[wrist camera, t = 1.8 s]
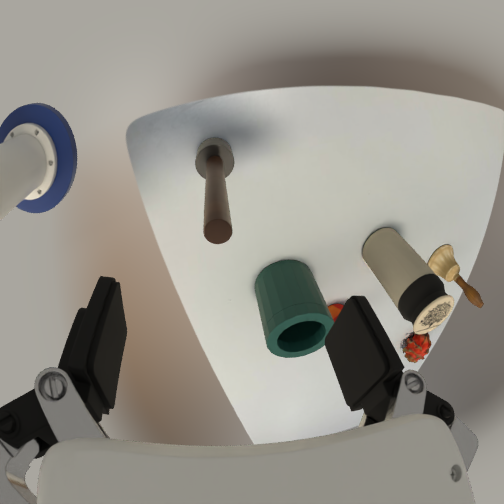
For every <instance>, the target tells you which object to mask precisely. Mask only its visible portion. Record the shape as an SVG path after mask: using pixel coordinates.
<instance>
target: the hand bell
mask: <svg viewBox="0 0 504 504" xmlns="http://www.w3.org/2000/svg"><path fill="white" fill-rule="evenodd" d="M428 266H429V267H430V268H431V269H432V270H433V272H434V273H435V274H436V275H439V276H441V277H442V278H444V279H445V280H446V281H447V282H451V281H453V280H454V281H455V282H456V283H457V284H458V285H459V286H460V287H461V288H462V289H463V291H464V293H465V295H466V297H467V298H468V300H469V301H470V302H471V303H472V304H474V305H475V306H477V307H479V308H481V307H482V306H483V304H484V303H483V302H482V300H481V297H480V295H479V293H478V292H477V291H476V290H475V289H474V288H473V287H472V286H470V285H468V284H467V283H466V282H465V281H464V280H463V278H462V277H461V276H460V275H459V271H460V267H459V265H458V264H457V262H456V261H455V259H454V256H453V248H452V247H451V246H450V245H443V246H441V247H439V248H438V249H437V250H436V251H435V252H434V253H433V254H432V256H431V258H430V259H429V262H428Z"/></svg>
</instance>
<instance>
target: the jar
mask: <svg viewBox="0 0 504 504" xmlns="http://www.w3.org/2000/svg"><path fill="white" fill-rule="evenodd" d="M255 292H256V298H257V302H258V307H259V312H260V316H261V321H262V326H263V330H264V335H265V340H266V344H267V348H268V349H269V350H270V352H271V353H273V354H275V355H277V356H280V357H285V358H292V357H300V356H304V355H307V354H310V353H312V352H315V351H317V350H318V349H320V348H321V347H323V346H324V345H325V337H326V336H327V334H328V332H329V331H330V329H331V327H332V326H333V324H334V320H333V318H332V316H331V313H330V311H329V309H328V307H327V305H326V302H325V300H324V298H323V296H322V294H321V292H320V289H319V287H318V285H317V283H316V281H315V279H314V277H313V275H312V272H311V271H310V269H309V268H308V267H307V266H306V265H305V264H303V263H301V262H299V261H295V260H283V261H279V262H276V263H273V264H271V265H269V266H268V267H266V268H265V269H264V270H263V271H262V272H261V273H260V274H259V275H258V277H257V279H256V282H255Z"/></svg>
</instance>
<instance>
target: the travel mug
mask: <svg viewBox="0 0 504 504" xmlns="http://www.w3.org/2000/svg"><path fill="white" fill-rule="evenodd" d="M363 258H364V260H365V262H366V263H367V264H368V266H369V267H370V269H371V270H372V271H373V273H374V274H375V276H376V277H377V279H378V280H379V281H380V283H381V284H382V286H383V287H384V289H385V290H386V292H387V293H388V295H389V296H390V298H391V299H392V301H393V302H394V304H395V305H396V307H397V308H398V310H399V311H400V313H401V315H402V316H403V318H404V319H406V320H408V321H410V322H412V324H413V330H414V332H415V333H416V334H425V333H427V332H430V331H431V330H433V329H435V328H436V327H437V326H439V325H440V324H441V323H442V322H443V321H444V320H445V319H446V318H447V316H448V315H449V314H450V312H451V310H452V308H453V305H454V299H453V297H452V296H450V295H447V294H446V293H445V289H444V284H443V282H442V281H441V280H440V279H439V277H438V276H437V275H436V274H435V273H434V272H433V270H432V269H431V268H430V267H429V266H428V265H427V264H426V263H425V261H424V260H423V259H422V258H421V257H420V256H419V255H418V254H417V253H416V252H415V250H414V249H413V248H412V247H411V246H410V245H409V244H408V243H407V242H406V241H405V240H404V239H403V238H402V237H401V236H400V235H399V234H398V233H397V232H396V231H395V230H394V229H392V228H383V229H380V230H378V231H376V232H375V233H373V234H372V235H371V236H370V237H369V238H368V240H367V241H366V243H365V245H364V247H363Z"/></svg>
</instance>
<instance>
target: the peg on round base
mask: <svg viewBox="0 0 504 504" xmlns="http://www.w3.org/2000/svg"><path fill="white" fill-rule="evenodd" d="M195 165H196V169H197V171H198V173H199V174H200V175H201V176H202V177H203V178H205V179H206V185H205V205H204V231H203V232H204V236H205V238H206V239H207V240H208V241H209V242H211V243H214V244H222V243H224V242H226V241H228V240H229V239H230V237H231V235H232V224H231V217H230V210H229V203H228V196H227V189H226V182H225V178H226V177H227V176H228V175H229V174H230V173H231V172H232V170H233V167H234V158H233V154H232V151H231V148H230V146H229V144H228V143H227V142H226V141H225V140H223V139H220V138H210V139H207V140H205V141H204V142H203V143H202V144H201V145H200V146H199V148H198V152H197V156H196V161H195Z"/></svg>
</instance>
